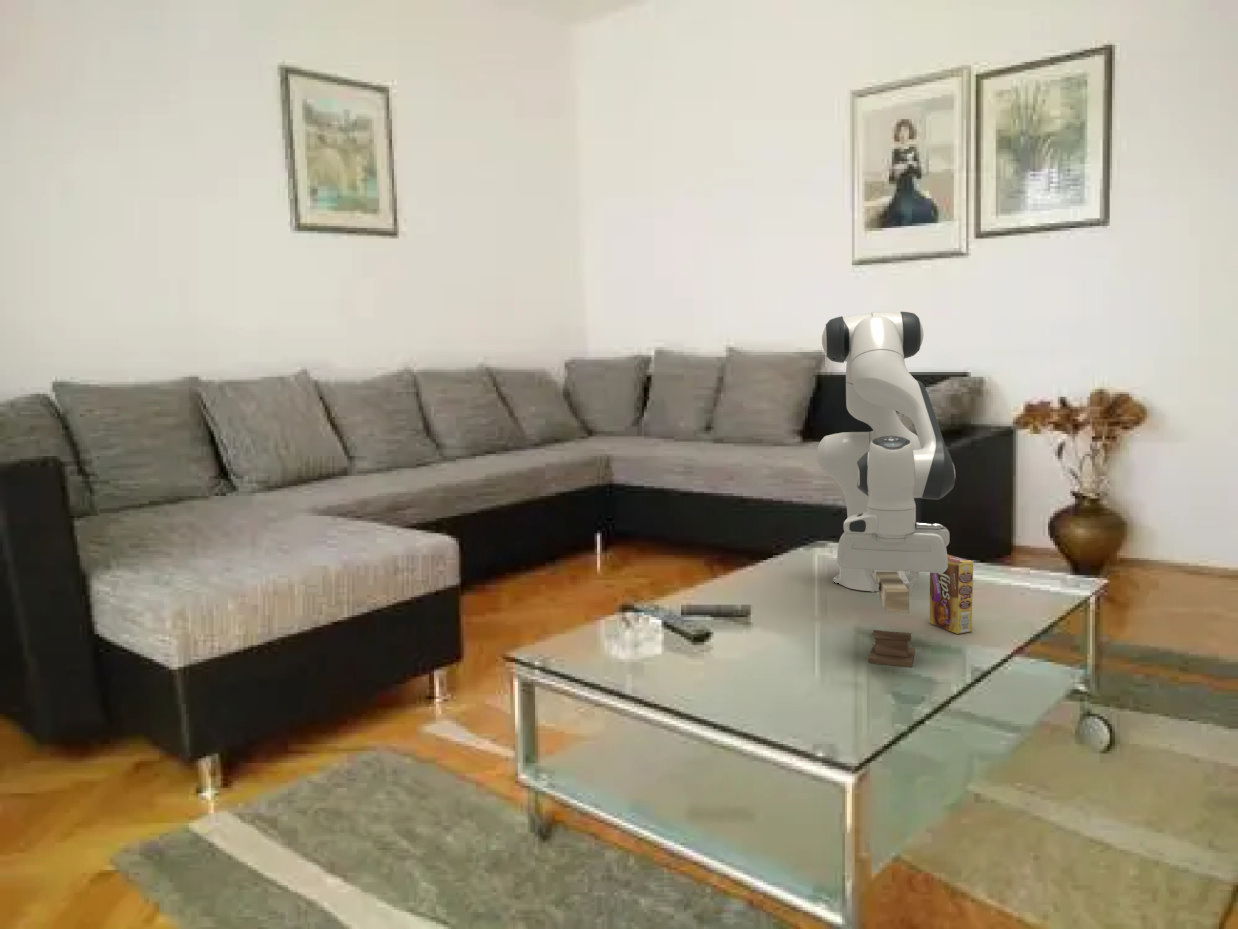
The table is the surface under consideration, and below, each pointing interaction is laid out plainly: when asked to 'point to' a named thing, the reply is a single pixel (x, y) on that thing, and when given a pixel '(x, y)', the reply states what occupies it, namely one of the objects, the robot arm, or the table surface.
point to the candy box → (952, 596)
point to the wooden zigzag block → (893, 592)
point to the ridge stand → (891, 649)
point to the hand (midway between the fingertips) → (891, 592)
